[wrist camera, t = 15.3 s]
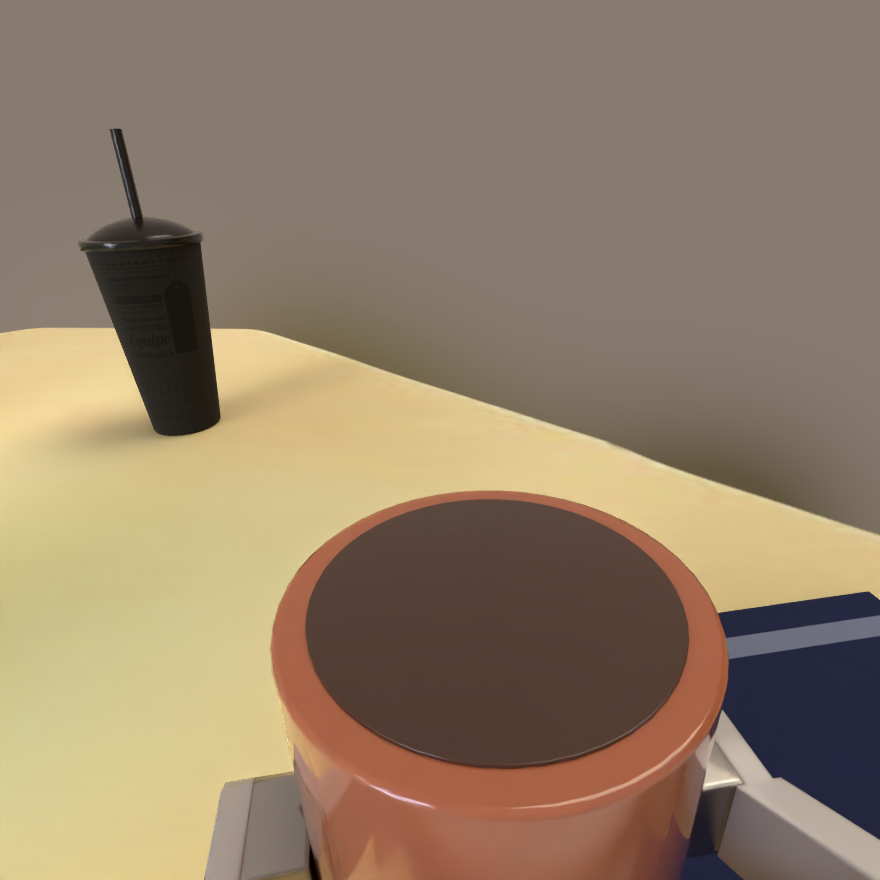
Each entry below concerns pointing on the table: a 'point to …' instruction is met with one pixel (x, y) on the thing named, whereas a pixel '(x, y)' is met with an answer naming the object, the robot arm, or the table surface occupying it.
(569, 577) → the tumbler
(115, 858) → the table surface
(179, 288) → the drinking cup
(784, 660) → the cloth
